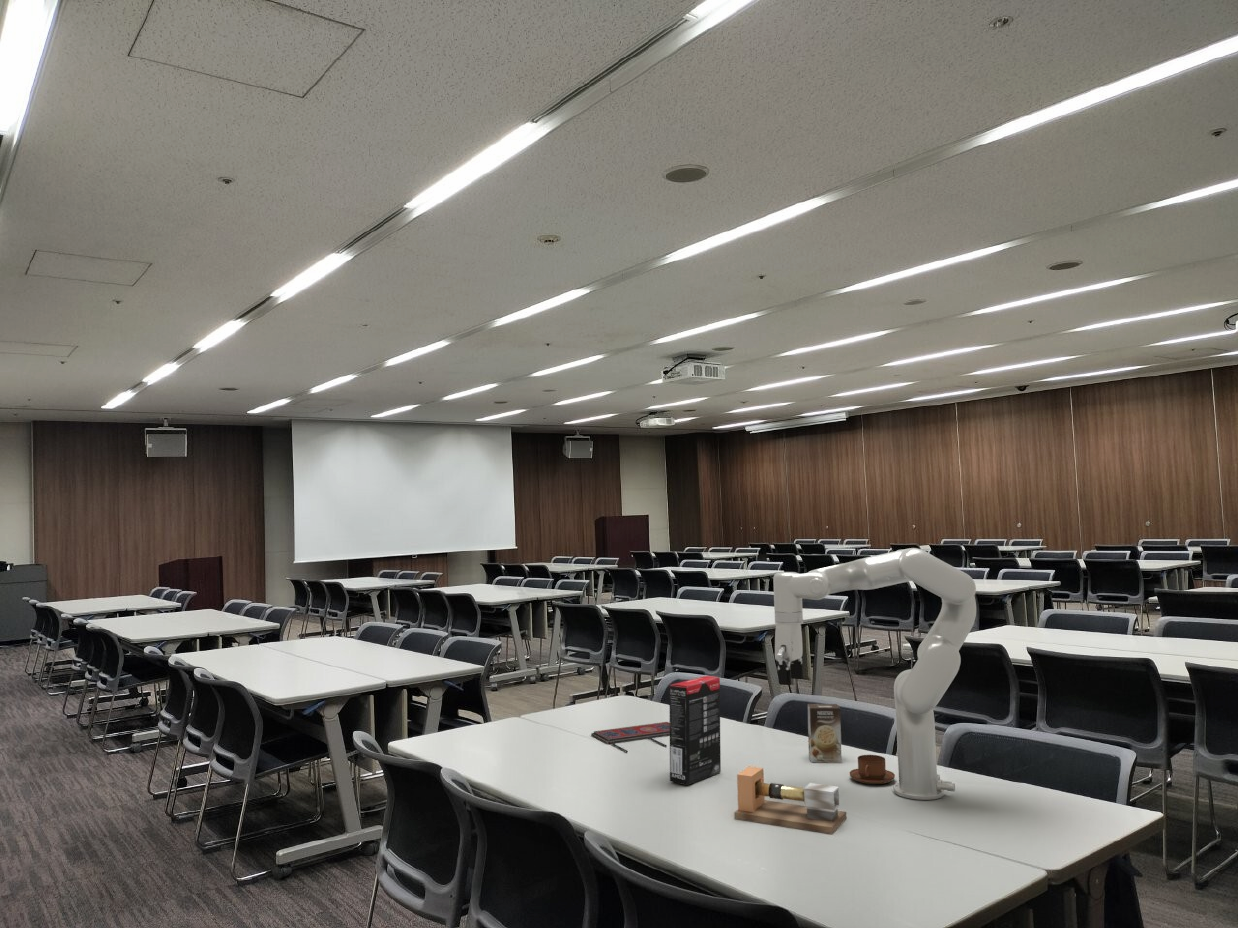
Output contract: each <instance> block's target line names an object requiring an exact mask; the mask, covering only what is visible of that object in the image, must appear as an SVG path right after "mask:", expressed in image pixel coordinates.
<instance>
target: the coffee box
mask: <svg viewBox="0 0 1238 928" xmlns="http://www.w3.org/2000/svg"><path fill="white" fill-rule="evenodd" d="M807 730H808V731H807V736H808V738H807V739H808V742H807V743H808V758H809V760H810V762H811V763H839V764H840V763H842V762H843V759H842V757H843V756H842V731H841V730H842V728H841V706H840V705H839V704H837V703H807Z"/></svg>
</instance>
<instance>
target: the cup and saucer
mask: <svg viewBox="0 0 1238 928" xmlns="http://www.w3.org/2000/svg"><path fill="white" fill-rule="evenodd" d="M849 777H851V778H852V779H853V780H855V781H856V782H859V783H863V784H870V785H883V784H887V783H890V782H893V780H895V777H896V774H895V773H894V772H892V771H890V770H887V769H886V757H884V756H881V755H877V754H862V755H859V756H857V768H854V769H852V770H850V771H849Z"/></svg>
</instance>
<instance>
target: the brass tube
mask: <svg viewBox="0 0 1238 928" xmlns="http://www.w3.org/2000/svg"><path fill="white" fill-rule="evenodd" d="M804 788H805V787H796V786H789V785H785V784H783V783H776V782H771V783H767V782H764V783H760V782H755V795H760V796H764V797H769V798H770V799H777V800H782V801H783V800H789V801H796V802H804V803H805V799H804Z"/></svg>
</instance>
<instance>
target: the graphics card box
mask: <svg viewBox="0 0 1238 928" xmlns="http://www.w3.org/2000/svg"><path fill="white" fill-rule="evenodd" d="M720 681H721V679H720V677H718V676H712V675H707V676H705V675H704V676H701V677H696V678H693V679H689V680H688V679H687V680H684V681H680V682H677V683H676V682H675V683H671V684H669V689H668V690H669V691H668V692H669V693H668V694H669V698H668V700H669V723H670V735H669V782H672V783H676V784H680V785H685V786H688V785H692V784H694V783H697V782H699V781H702V780H705V779H707V778H710V777H712V776H716V775H718V774H720V773H721V772H722V771H721V767H722V766H721V763H722V762H721V682H720Z"/></svg>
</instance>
